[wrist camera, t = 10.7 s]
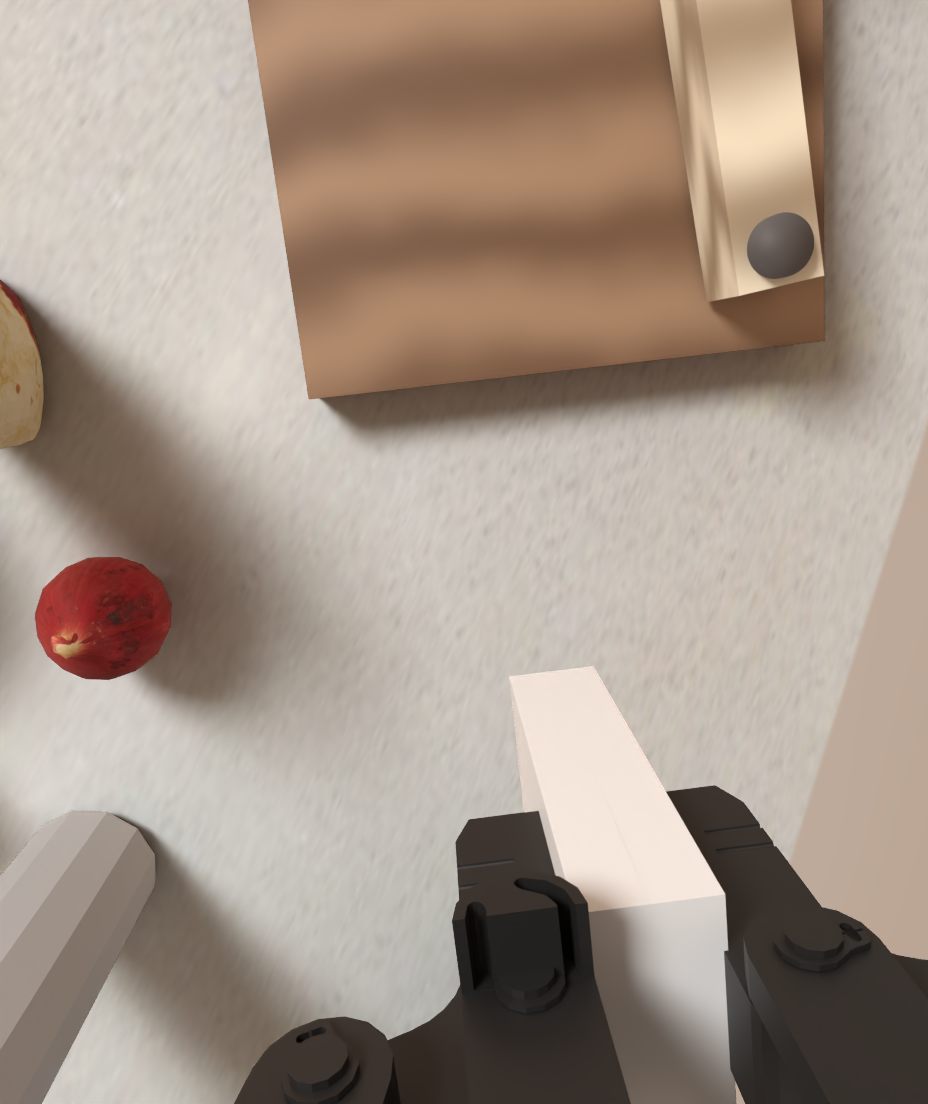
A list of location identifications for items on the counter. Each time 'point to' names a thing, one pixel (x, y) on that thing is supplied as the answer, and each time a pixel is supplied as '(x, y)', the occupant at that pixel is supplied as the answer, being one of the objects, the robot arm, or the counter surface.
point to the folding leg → (744, 142)
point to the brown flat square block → (499, 191)
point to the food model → (18, 374)
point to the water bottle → (63, 938)
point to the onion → (103, 617)
